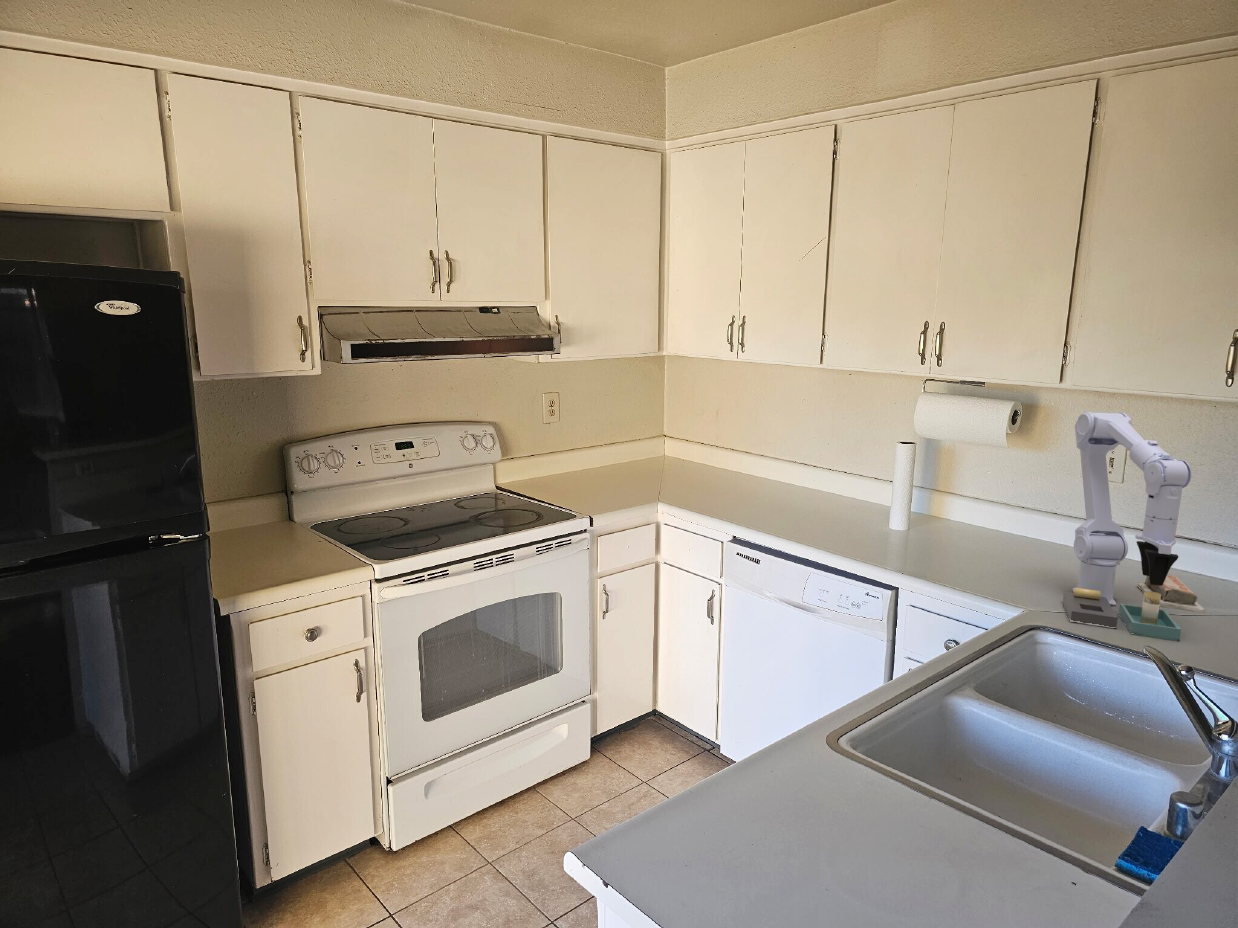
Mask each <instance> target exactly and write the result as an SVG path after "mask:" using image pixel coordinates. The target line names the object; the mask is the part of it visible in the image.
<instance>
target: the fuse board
mask: <svg viewBox="0 0 1238 928" xmlns="http://www.w3.org/2000/svg"><path fill="white" fill-rule="evenodd" d="M1073 588H1074V593H1073V592H1068V591H1063V594H1062V604H1063V607H1064V610H1065V612H1067V613H1066V615H1067V614H1068V615H1067V617H1068V616H1069V618H1070V619H1071V620H1073V621H1080V622H1083V623H1092V624H1099V625H1104V626H1109V627H1116V629H1117V628H1118V626H1117V625H1118V622H1119V621H1118V619H1119V617H1118V615H1117V614H1116V612H1115V610H1114V609H1113V607H1112V605H1110V604H1109V602H1108V600H1107V598H1106V597H1100V591H1097V590H1089V589H1082V588H1077V587H1073ZM1069 618H1068V619H1069Z"/></svg>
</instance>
